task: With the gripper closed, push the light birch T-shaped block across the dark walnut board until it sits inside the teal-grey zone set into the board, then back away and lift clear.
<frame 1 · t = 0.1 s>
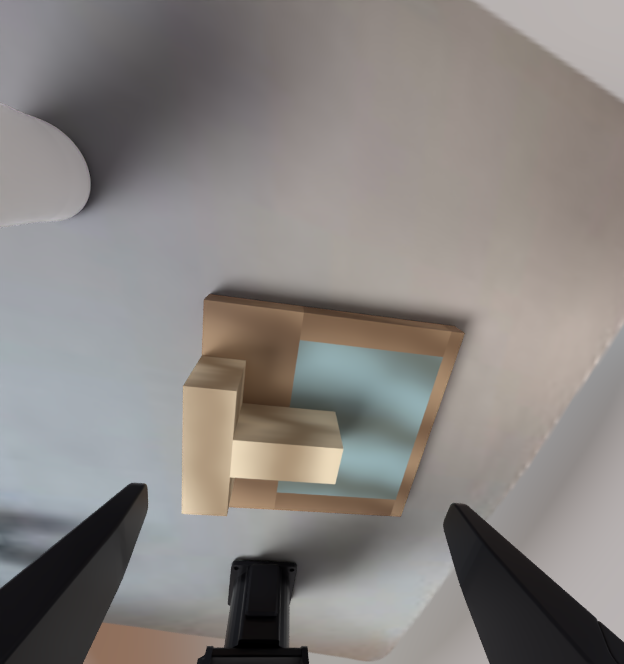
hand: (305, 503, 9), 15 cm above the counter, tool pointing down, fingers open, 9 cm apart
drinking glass: (50, 173, 18), on the counter
push board: (317, 415, 25), on the counter
t block: (267, 422, 24), point 1 cm above the counter, touching push board
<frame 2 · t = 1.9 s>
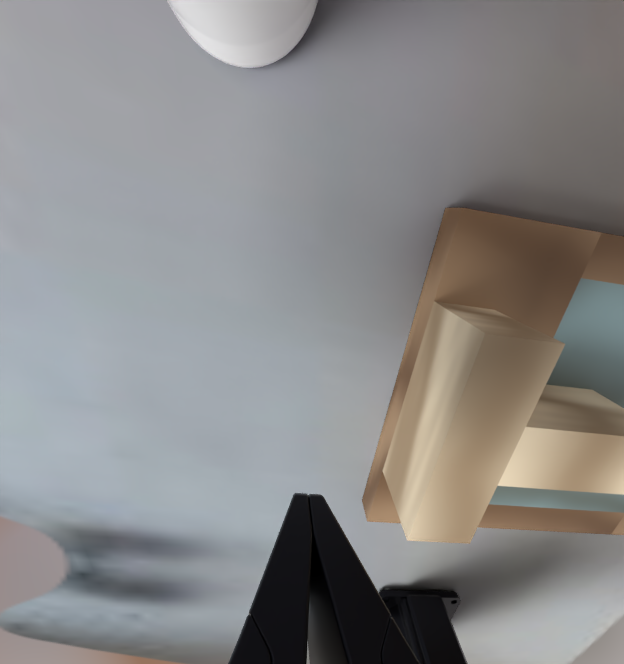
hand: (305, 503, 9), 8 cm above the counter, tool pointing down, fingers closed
push board: (542, 396, 18), on the counter
t block: (495, 404, 16), point 1 cm above the counter, touching push board
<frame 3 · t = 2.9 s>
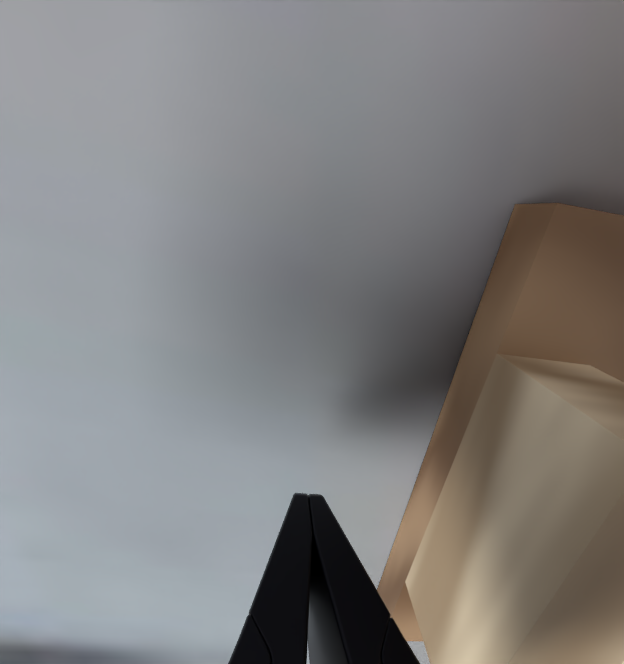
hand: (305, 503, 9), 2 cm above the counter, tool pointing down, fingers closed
t block: (574, 495, 11), point 1 cm above the counter, touching push board
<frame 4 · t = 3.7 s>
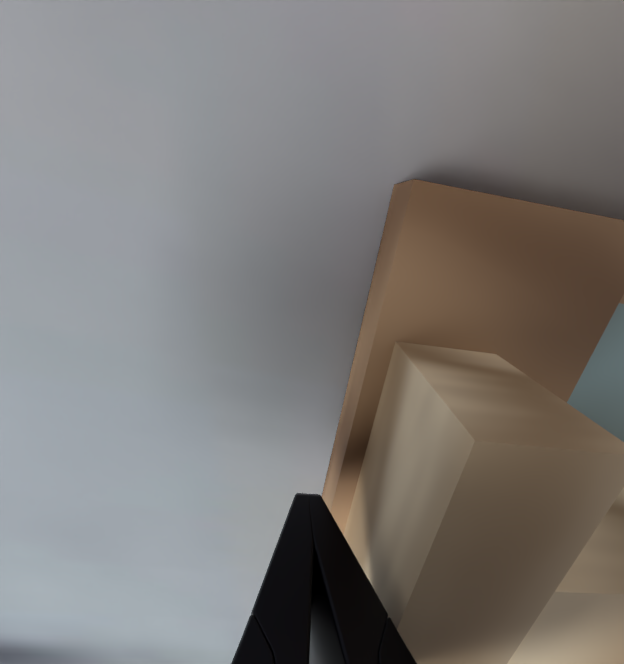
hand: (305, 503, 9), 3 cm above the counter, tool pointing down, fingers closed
push board: (550, 467, 13), on the counter
t block: (497, 490, 11), point 2 cm above the counter, touching gripper
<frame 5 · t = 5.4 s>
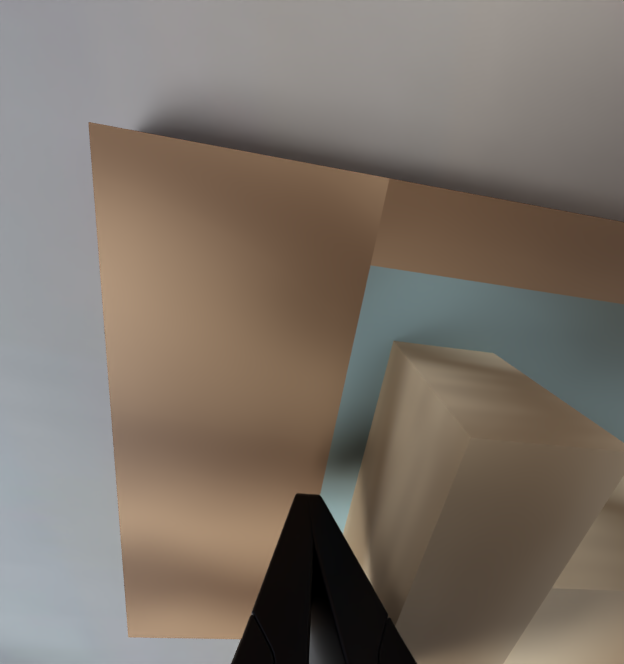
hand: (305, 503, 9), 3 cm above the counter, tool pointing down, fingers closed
push board: (384, 452, 12), on the counter
t block: (496, 489, 11), point 1 cm above the counter, touching gripper, push board
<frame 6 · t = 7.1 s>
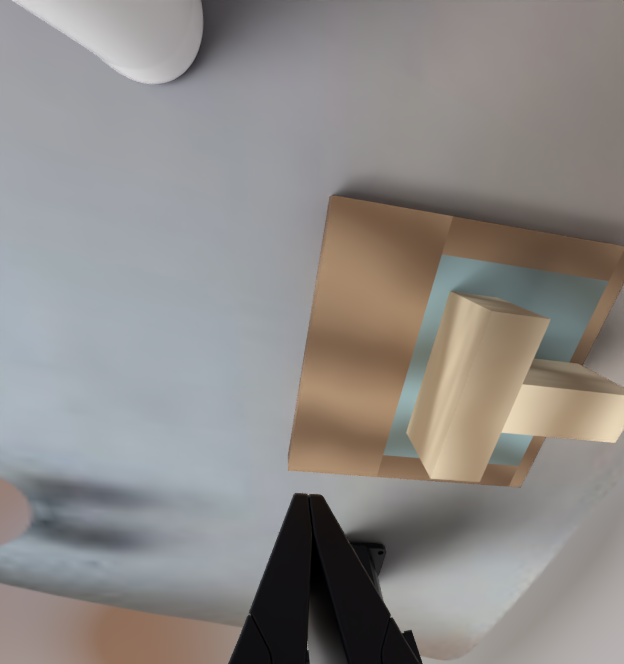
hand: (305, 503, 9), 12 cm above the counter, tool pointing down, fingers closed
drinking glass: (148, 20, 14), on the counter
push board: (435, 360, 21), on the counter
t block: (498, 375, 20), point 1 cm above the counter, touching push board
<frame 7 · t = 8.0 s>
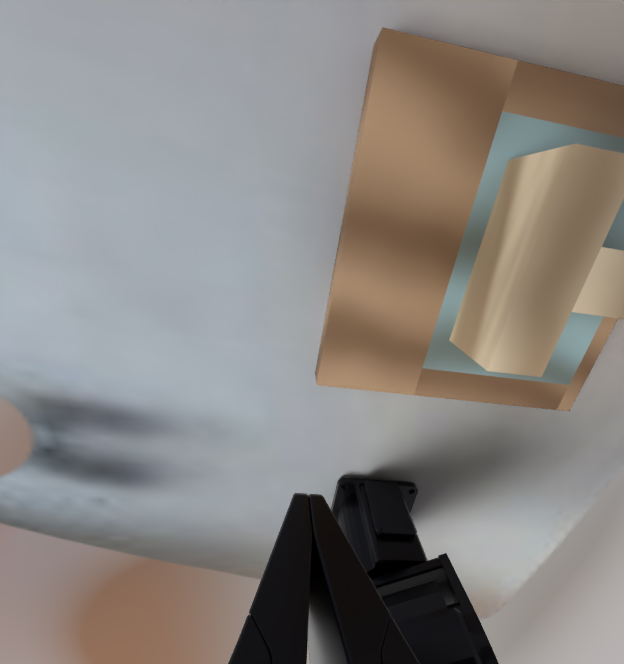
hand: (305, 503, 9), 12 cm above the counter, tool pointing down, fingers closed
push board: (482, 260, 19), on the counter
t block: (555, 271, 18), point 1 cm above the counter, touching push board
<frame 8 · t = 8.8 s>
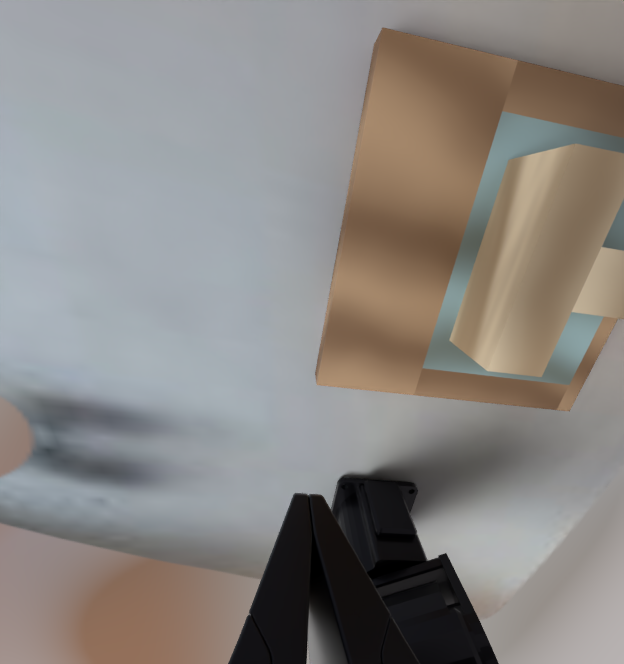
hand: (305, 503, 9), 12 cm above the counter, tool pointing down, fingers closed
push board: (482, 260, 19), on the counter
t block: (555, 271, 18), point 1 cm above the counter, touching push board
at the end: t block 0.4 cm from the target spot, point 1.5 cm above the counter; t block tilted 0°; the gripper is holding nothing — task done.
